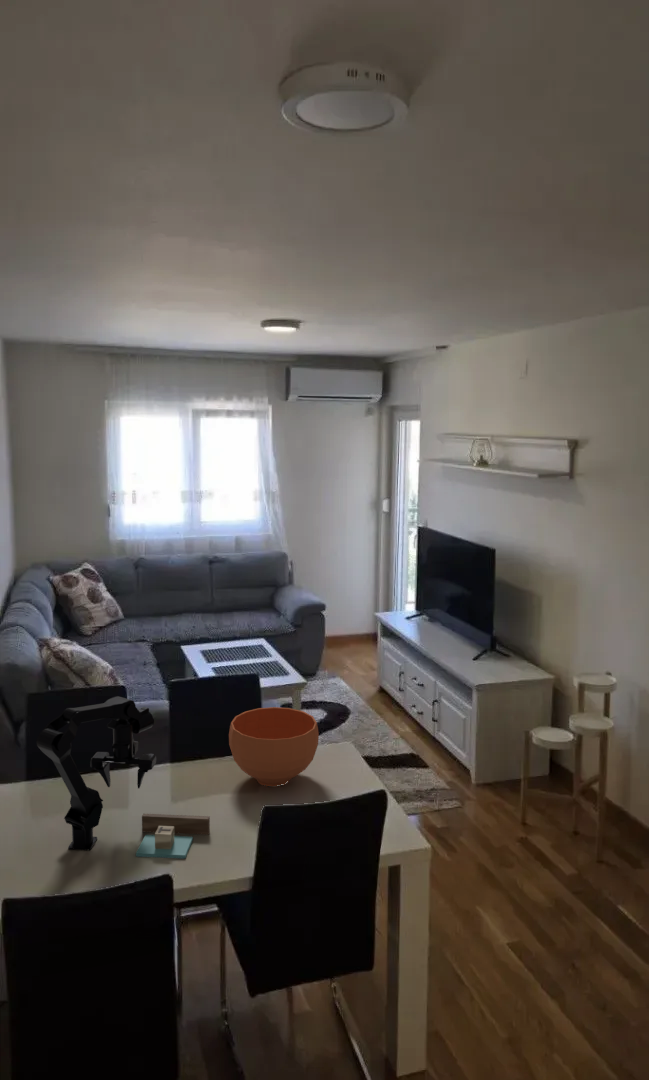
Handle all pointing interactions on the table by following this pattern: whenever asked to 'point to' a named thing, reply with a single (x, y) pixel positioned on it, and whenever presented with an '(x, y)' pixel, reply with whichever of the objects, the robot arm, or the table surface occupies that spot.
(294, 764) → the bowl
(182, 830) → the brown wooden plank
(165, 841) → the maple cube
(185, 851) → the display plate
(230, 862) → the table surface
